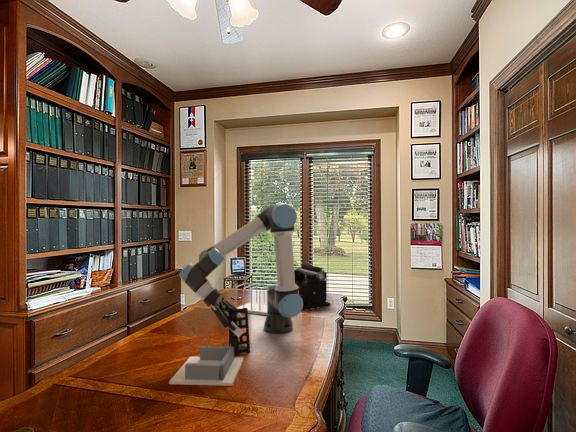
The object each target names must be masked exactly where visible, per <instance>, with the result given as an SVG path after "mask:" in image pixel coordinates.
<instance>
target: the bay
mask: <svg viewBox="0 0 576 432" xmlns="http://www.w3.org/2000/svg"><path fill="white" fill-rule="evenodd" d="M244 360H245V359H244V357H243V356H242V357H237V356H236V357H235V353H234V346H231V345H230V346H229V345H228V346H227V345H223V346H221V345H200V346H199V356H189V357H188V358H187V360H186V361H185V362H184V363H183V364H182V366H181V367H179V369H178V370H177V371H176V373H175V374H174V375H173V377H172V378H171V379H170V380H169V381H168V385H186V386H188V385H189V386H224V387H225V386H230V387H231V386H233V385H234V383H235V380H236V378H237V377H238V374H239V372H240V369H241V367H242V364H243V362H244Z"/></svg>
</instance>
